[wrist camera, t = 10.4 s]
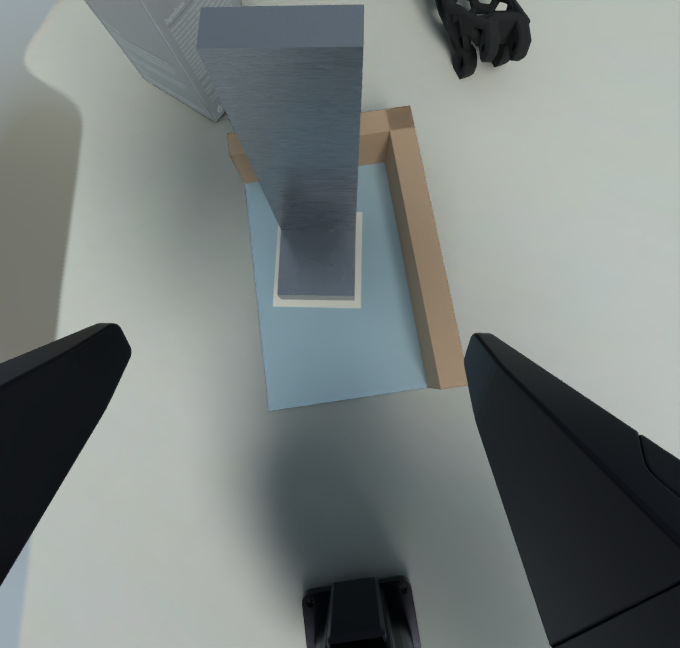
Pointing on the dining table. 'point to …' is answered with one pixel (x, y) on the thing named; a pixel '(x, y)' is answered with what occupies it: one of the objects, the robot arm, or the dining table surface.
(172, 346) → the dining table surface
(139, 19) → the skincare box
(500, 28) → the decorative element
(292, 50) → the grey tall post
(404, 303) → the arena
